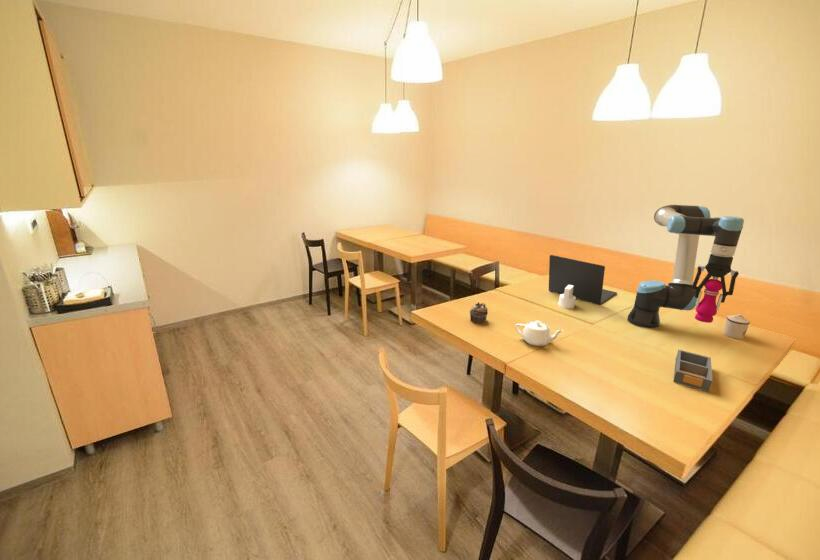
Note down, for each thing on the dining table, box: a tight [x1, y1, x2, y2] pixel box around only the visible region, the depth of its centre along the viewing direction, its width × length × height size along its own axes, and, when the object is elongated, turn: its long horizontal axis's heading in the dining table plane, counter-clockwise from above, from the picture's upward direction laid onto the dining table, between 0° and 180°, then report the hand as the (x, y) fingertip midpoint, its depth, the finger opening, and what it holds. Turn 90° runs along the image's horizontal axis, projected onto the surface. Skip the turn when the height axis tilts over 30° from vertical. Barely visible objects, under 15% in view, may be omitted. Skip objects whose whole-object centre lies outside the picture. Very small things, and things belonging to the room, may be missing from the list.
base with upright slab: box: [557, 285, 577, 310], centre depth 225 cm, size 9×9×12 cm
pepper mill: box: [694, 277, 722, 324], centre depth 160 cm, size 7×7×20 cm
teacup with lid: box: [722, 313, 751, 340], centre depth 192 cm, size 12×9×12 cm
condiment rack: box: [673, 349, 713, 393], centre depth 156 cm, size 12×22×5 cm, turn 144°
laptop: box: [548, 254, 618, 306], centre depth 243 cm, size 33×35×26 cm
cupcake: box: [469, 302, 488, 324], centre depth 203 cm, size 10×10×10 cm
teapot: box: [514, 320, 564, 347], centre depth 180 cm, size 22×14×11 cm, turn 65°
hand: (706, 307), depth 161 cm, fingers closed on pepper mill, 6 cm apart
